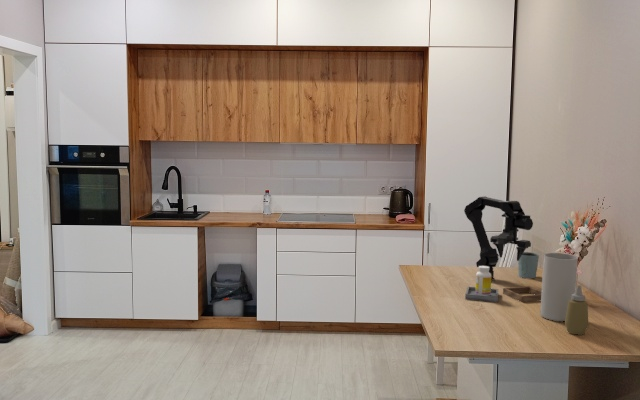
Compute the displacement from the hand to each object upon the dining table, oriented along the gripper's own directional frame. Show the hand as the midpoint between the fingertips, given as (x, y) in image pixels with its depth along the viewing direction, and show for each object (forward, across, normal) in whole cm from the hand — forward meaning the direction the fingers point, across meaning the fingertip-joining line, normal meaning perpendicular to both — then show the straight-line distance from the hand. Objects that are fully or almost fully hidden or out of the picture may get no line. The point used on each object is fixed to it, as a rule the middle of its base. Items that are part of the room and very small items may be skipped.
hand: (509, 259), depth 283 cm
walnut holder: (+13, +16, -11) cm, 23 cm away
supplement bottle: (+12, +4, -27) cm, 30 cm away
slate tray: (+13, +4, -27) cm, 30 cm away
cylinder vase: (+13, +40, -28) cm, 51 cm away
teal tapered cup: (+13, -4, +24) cm, 28 cm away
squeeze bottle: (+13, +54, -40) cm, 68 cm away
